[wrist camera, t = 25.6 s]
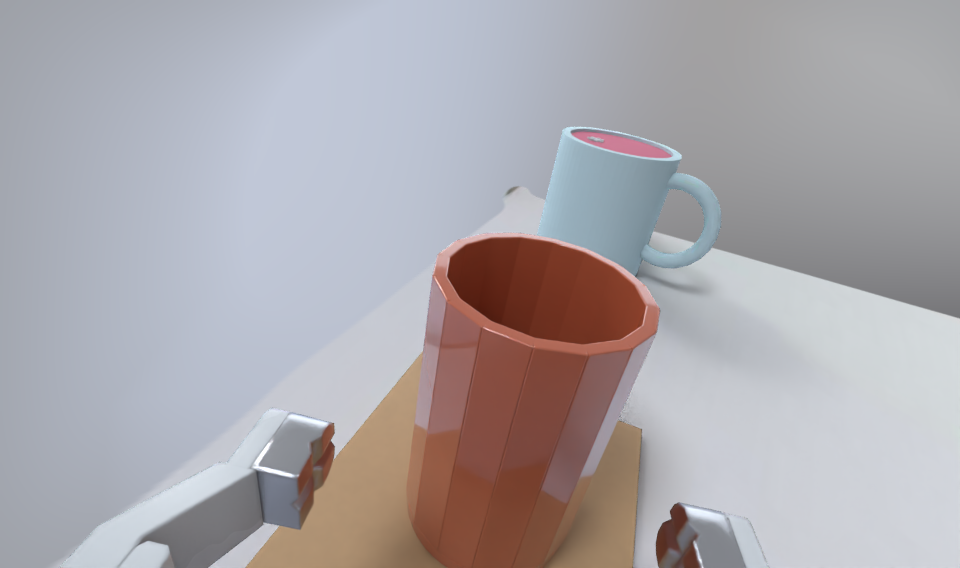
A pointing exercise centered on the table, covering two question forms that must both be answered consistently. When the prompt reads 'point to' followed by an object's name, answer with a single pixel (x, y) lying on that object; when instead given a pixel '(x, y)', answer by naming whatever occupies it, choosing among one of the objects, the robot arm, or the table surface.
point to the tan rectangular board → (383, 507)
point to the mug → (620, 197)
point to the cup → (519, 394)
